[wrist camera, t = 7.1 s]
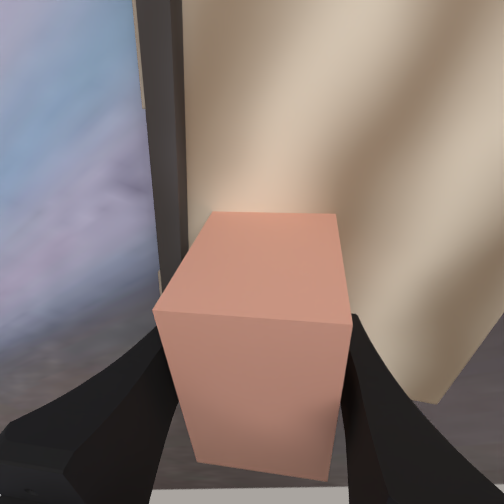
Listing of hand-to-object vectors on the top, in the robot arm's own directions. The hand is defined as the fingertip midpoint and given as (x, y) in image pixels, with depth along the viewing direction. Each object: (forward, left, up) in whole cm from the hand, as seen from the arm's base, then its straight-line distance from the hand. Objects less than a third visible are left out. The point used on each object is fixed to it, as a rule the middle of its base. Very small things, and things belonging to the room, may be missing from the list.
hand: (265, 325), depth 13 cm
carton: (0, 0, -2) cm, 2 cm away
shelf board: (-3, -4, -4) cm, 6 cm away
